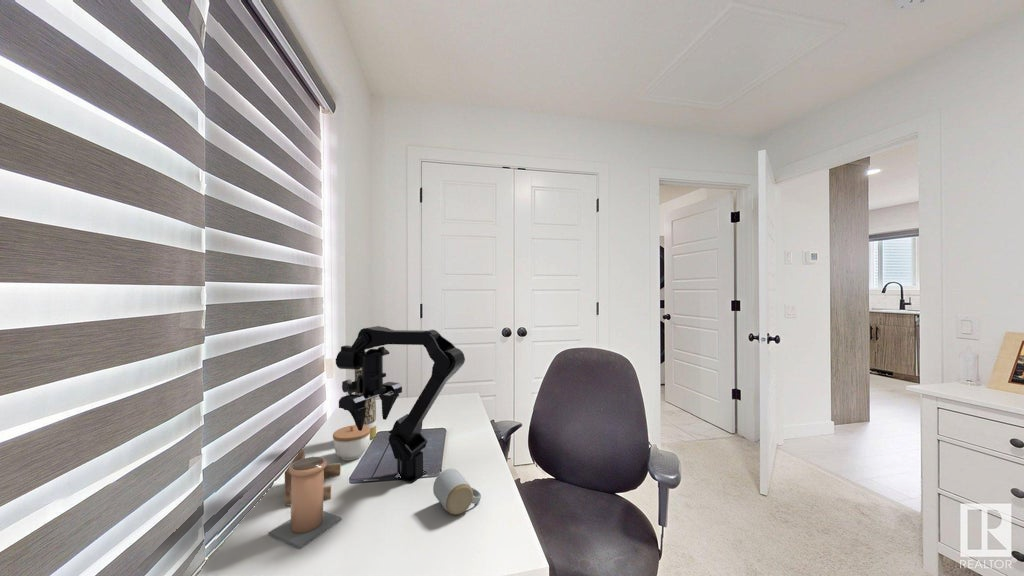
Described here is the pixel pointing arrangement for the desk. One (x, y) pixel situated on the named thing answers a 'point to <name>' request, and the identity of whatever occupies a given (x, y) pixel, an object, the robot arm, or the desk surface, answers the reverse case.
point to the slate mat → (302, 539)
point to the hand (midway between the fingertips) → (372, 424)
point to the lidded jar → (351, 441)
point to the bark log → (368, 410)
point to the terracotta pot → (307, 493)
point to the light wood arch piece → (328, 471)
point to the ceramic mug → (454, 492)
